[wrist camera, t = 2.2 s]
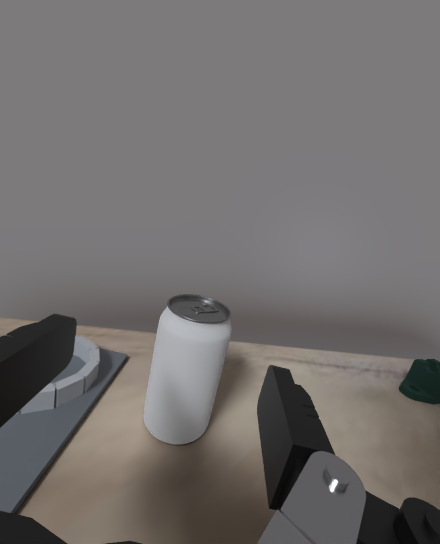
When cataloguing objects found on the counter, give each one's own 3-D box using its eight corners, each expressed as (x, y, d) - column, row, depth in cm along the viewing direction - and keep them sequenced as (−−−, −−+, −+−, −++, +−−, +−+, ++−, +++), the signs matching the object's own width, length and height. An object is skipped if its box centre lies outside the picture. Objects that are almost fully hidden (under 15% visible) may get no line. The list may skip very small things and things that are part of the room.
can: (132, 405, 25) (149, 294, 22) (186, 386, 29) (207, 290, 26) (161, 462, 20) (188, 330, 17) (221, 429, 24) (251, 318, 21)
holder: (127, 358, 31) (129, 341, 31) (-8, 545, 14) (-9, 513, 13) (34, 338, 31) (35, 320, 31) (-219, 498, 14) (-229, 463, 13)
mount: (431, 382, 43) (444, 357, 42) (462, 401, 39) (477, 374, 38) (389, 385, 39) (401, 357, 38) (418, 407, 35) (433, 377, 34)
